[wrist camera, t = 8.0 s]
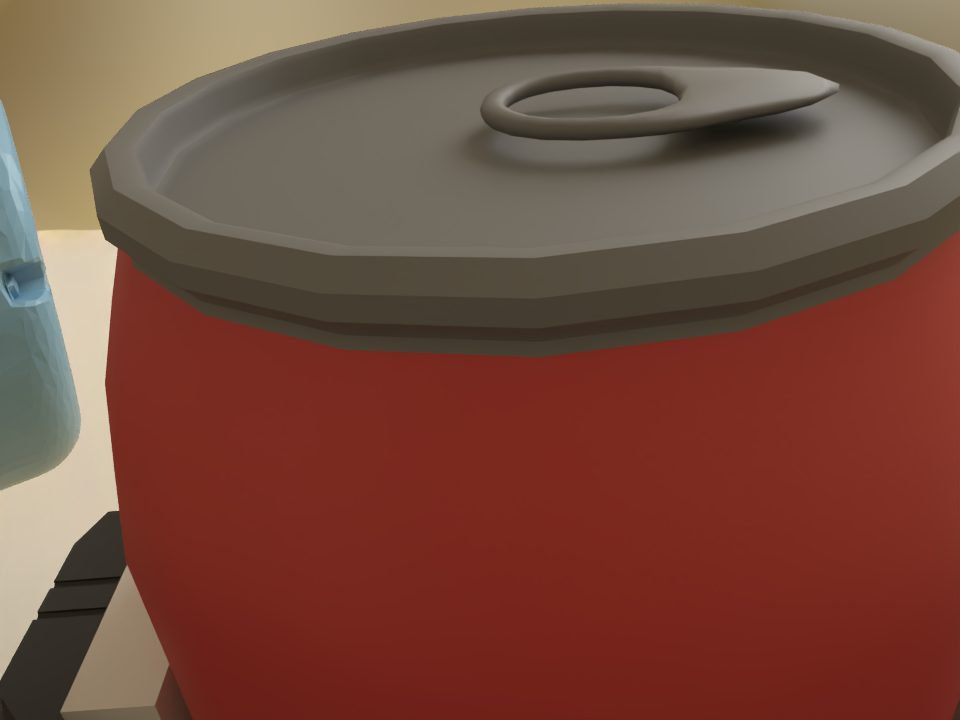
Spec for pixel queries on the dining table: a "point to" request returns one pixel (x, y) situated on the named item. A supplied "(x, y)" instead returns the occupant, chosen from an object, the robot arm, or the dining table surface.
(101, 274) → the dining table surface
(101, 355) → the dining table surface
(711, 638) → the beer can
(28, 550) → the dining table surface
